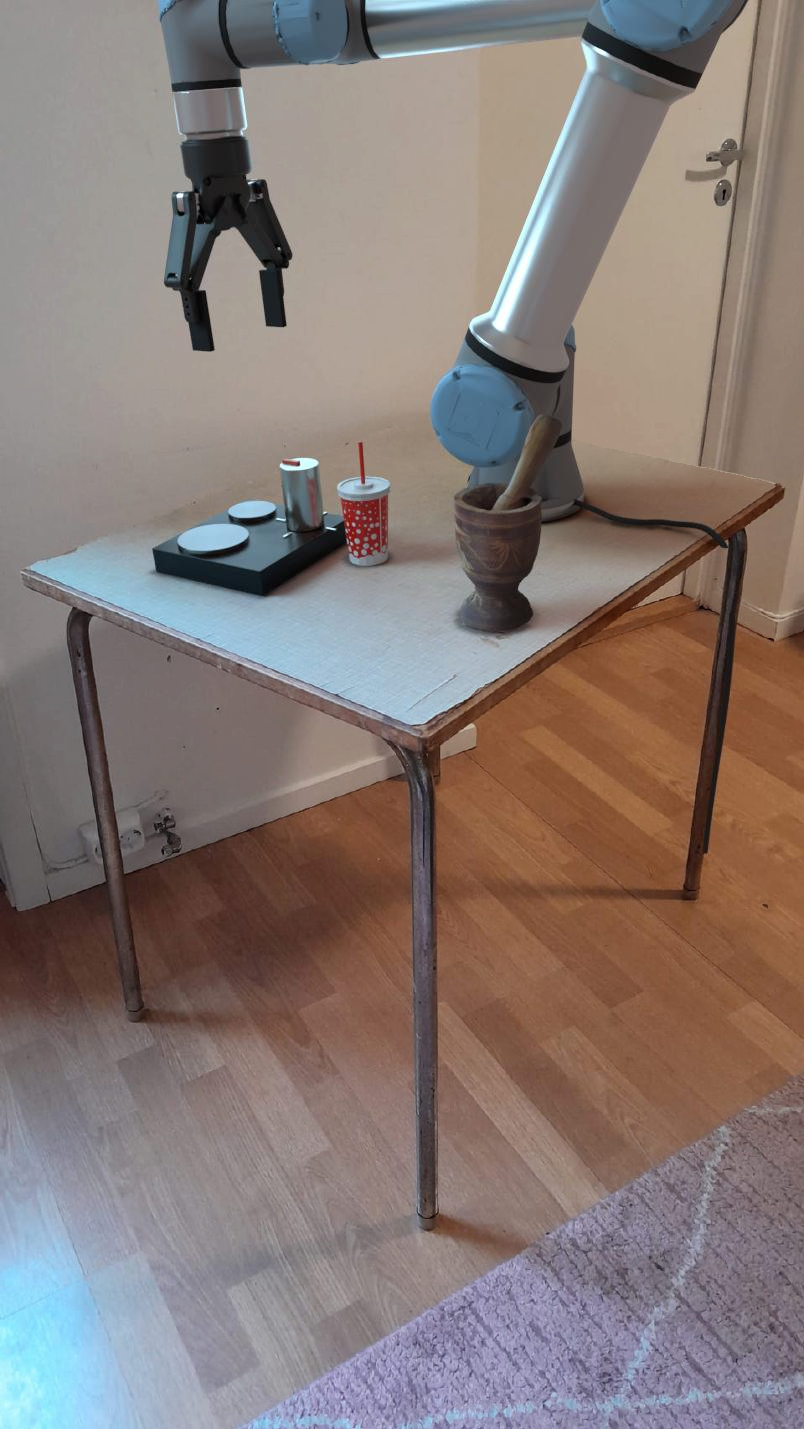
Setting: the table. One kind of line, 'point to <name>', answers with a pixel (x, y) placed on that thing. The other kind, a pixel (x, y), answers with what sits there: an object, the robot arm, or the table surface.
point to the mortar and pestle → (503, 536)
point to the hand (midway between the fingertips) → (241, 338)
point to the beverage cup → (365, 516)
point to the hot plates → (225, 530)
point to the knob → (302, 494)
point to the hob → (255, 553)
